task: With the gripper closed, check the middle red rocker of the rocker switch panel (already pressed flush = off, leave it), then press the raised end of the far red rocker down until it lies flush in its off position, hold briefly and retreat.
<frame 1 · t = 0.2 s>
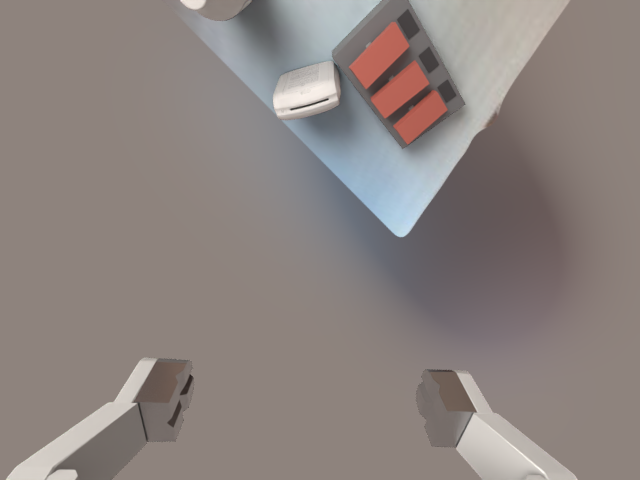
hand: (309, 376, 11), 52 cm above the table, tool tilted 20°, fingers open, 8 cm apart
rocker 1: (378, 56, 44), point 6 cm above the table, hinge at 12.0°
photo printer: (308, 78, 51), on the table
rocker 2: (399, 90, 47), point 6 cm above the table, hinge at 0.0°
rocker switch panel: (397, 74, 51), on the table
rocker 3: (419, 118, 50), point 6 cm above the table, hinge at 12.0°
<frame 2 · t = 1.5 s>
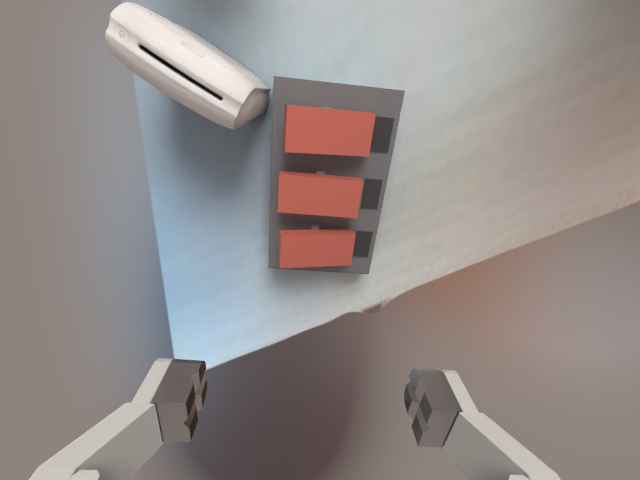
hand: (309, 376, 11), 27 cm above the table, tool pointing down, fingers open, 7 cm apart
rocker 1: (328, 131, 27), point 6 cm above the table, hinge at 12.0°
photo printer: (222, 77, 31), on the table
rocker 2: (319, 194, 30), point 6 cm above the table, hinge at 0.0°
rocker switch panel: (326, 180, 35), on the table
rocker 3: (316, 248, 33), point 6 cm above the table, hinge at 12.0°
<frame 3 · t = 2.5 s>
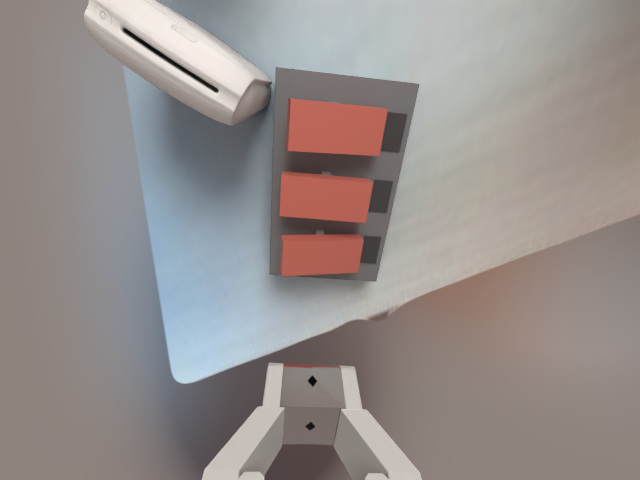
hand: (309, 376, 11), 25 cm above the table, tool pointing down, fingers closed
rocker 1: (336, 128, 25), point 6 cm above the table, hinge at 12.0°
photo printer: (220, 69, 28), on the table
rocker 2: (324, 197, 28), point 6 cm above the table, hinge at 0.0°
rocker switch panel: (331, 180, 33), on the table
rocker 3: (321, 254, 30), point 6 cm above the table, hinge at 12.0°
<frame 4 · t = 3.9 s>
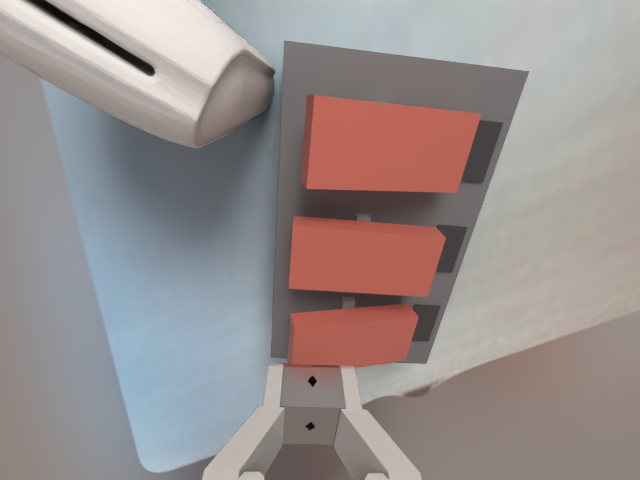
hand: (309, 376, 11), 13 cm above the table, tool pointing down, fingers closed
rocker 1: (388, 147, 14), point 6 cm above the table, hinge at 12.0°
photo printer: (192, 49, 17), on the table
rocker 2: (362, 257, 17), point 6 cm above the table, hinge at 0.0°
rocker switch panel: (362, 219, 22), on the table
rocker 3: (351, 338, 20), point 6 cm above the table, hinge at 12.0°
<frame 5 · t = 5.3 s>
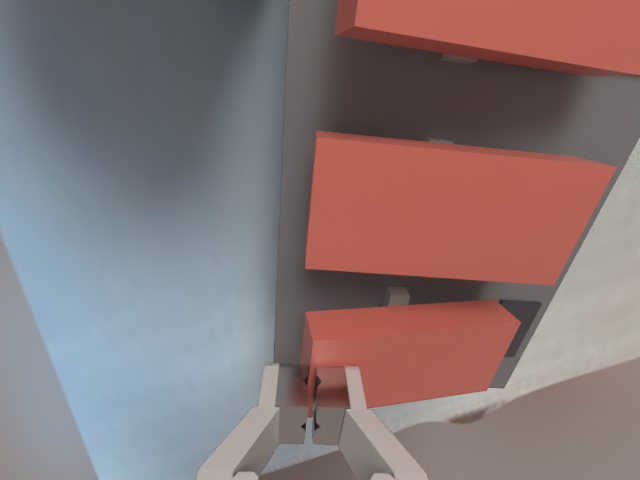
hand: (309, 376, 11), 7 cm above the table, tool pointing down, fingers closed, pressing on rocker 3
rocker 2: (441, 212, 9), point 6 cm above the table, hinge at 0.0°
rocker switch panel: (413, 169, 15), on the table
rocker 3: (405, 355, 12), point 6 cm above the table, hinge at 10.5°, touching gripper
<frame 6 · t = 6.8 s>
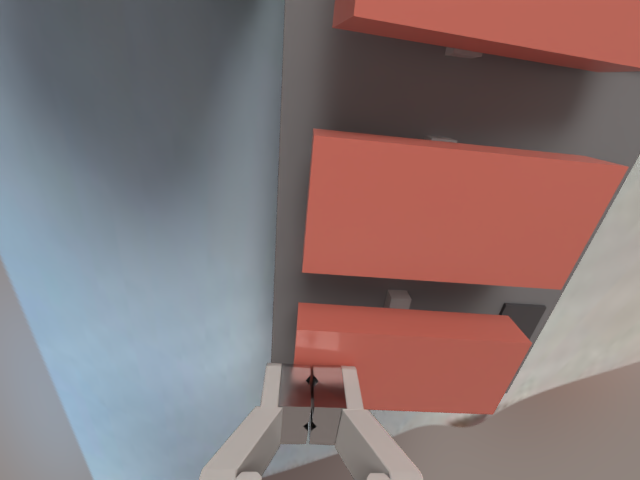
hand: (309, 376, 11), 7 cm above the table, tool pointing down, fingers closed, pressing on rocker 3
rocker 2: (444, 213, 9), point 6 cm above the table, hinge at 0.0°
rocker switch panel: (414, 168, 14), on the table
rocker 3: (399, 360, 11), point 6 cm above the table, hinge at -0.4°, touching gripper
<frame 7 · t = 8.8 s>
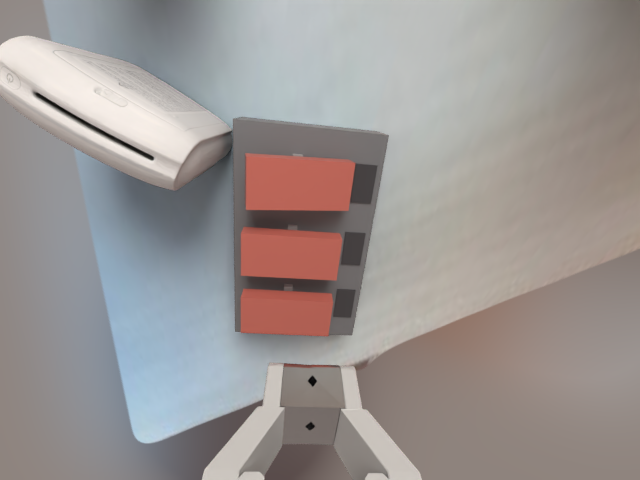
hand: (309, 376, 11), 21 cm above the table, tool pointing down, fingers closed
rocker 1: (299, 183, 23), point 6 cm above the table, hinge at 12.0°
photo printer: (176, 116, 26), on the table
rocker 2: (291, 254, 25), point 6 cm above the table, hinge at 0.0°
rocker switch panel: (301, 228, 31), on the table
rocker 3: (286, 312, 28), point 6 cm above the table, hinge at -0.9°
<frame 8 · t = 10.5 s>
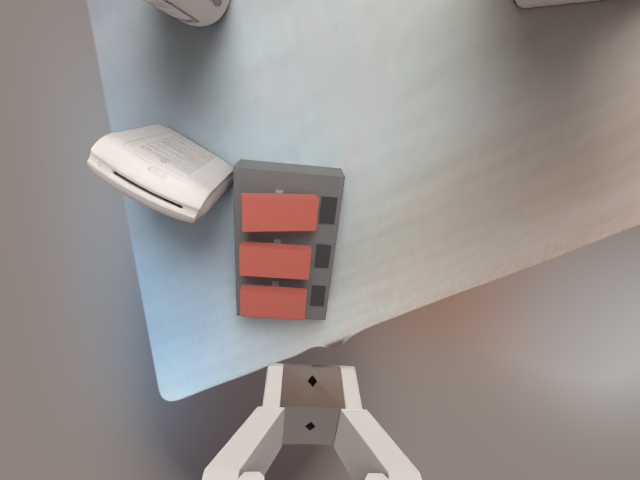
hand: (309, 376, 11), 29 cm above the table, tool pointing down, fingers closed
rocker 1: (280, 212, 33), point 6 cm above the table, hinge at 12.0°
photo printer: (193, 158, 36), on the table
rocker 2: (275, 260, 35), point 6 cm above the table, hinge at 0.0°
rocker switch panel: (287, 239, 41), on the table
rocker 3: (273, 302, 38), point 6 cm above the table, hinge at -0.9°
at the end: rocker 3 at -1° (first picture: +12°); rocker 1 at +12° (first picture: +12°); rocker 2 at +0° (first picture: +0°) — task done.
